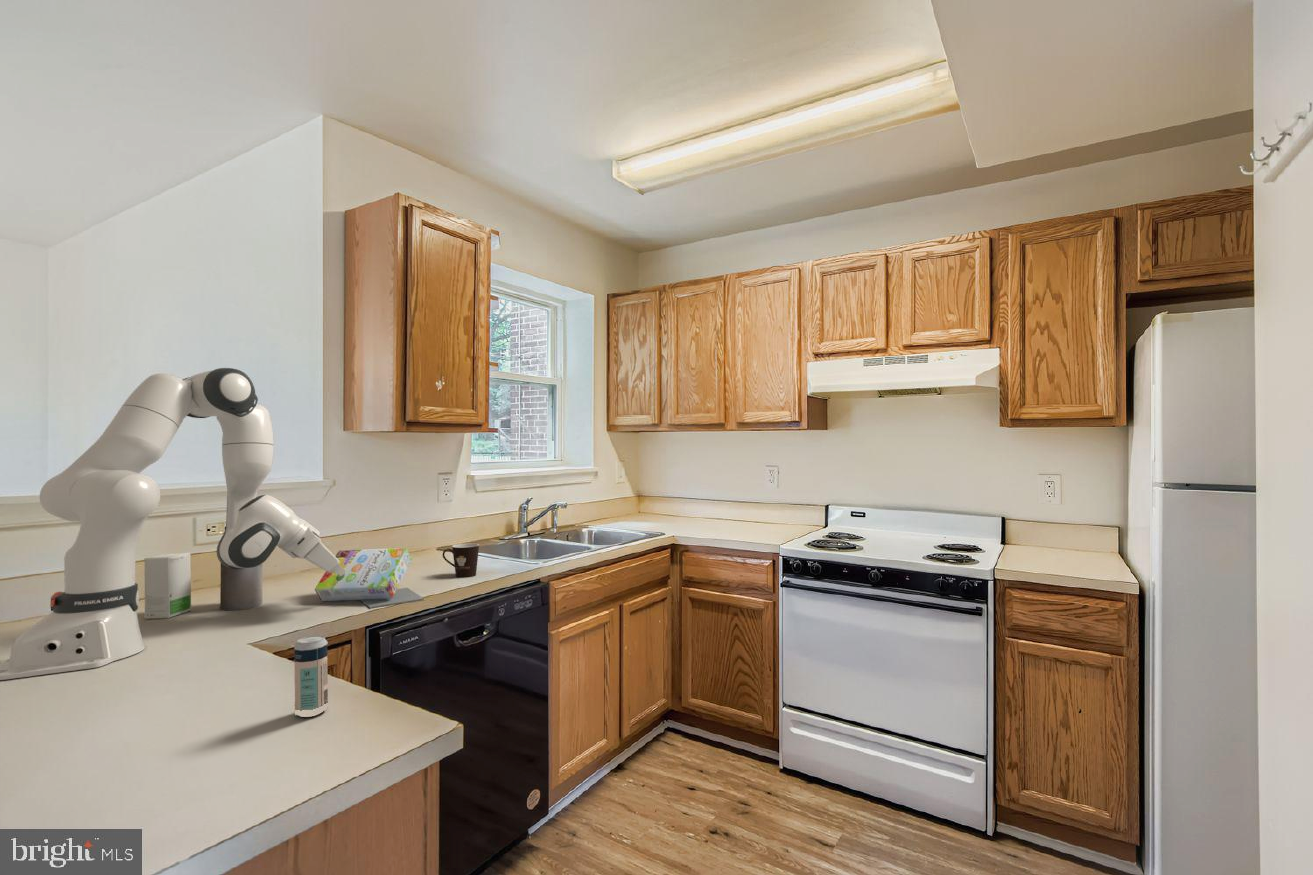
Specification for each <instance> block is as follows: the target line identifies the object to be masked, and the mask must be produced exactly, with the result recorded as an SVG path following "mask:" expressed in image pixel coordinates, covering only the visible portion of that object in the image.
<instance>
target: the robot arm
mask: <svg viewBox="0 0 1313 875" xmlns="http://www.w3.org/2000/svg"><path fill="white" fill-rule="evenodd" d="M258 401H259V397H258V396H257V394H256V389H255V385H254V384H253V381H252V379H251V378H250V377H249V375H248V374H246V373H245V372H244V371H242V370H240V369H237V368H232V367H231V368H230V367H220V368H215V369H213V370H208V371H202V372H198V373H196V374H194V375H193V374H192V375H191V376H187V377H185V378H180V377H177V376H176V375H172V374H168V373H155V374H151V375H149V376H148V377H146V378H145V379H144V380H143V381H142V382H141V383H140V384H139V385H138V386H137V387H136V388H135V389H134V391H132V393H131V394H130V395H129V396H128V397H127V398H126V400H125V401H124V403H123V404H122V405H121V407H120V408H119V409H118V411H117V413H116V414H115V416H114V417H113V419H112V420H111V422H110V423H109V424H108V426H107V427H106V429H105V430H104V431H103V433H102V434H101V435H100V437H99V438H98V439H97V440H96V441H95V442H94V443H93V444H92V445H91V446H90V447H89V448H88V449H87V450H85V452H83V453H82V454H81V455H80V456H79V457H78V458H77V459H76V460H75V461H74V462H72V463H71V464H70V465H69V466H68V467H67V468H65V469H64V470H63V471H62V472H60V473H59V474H57V475H55V476H53V477H51V478H50V479H48V480H47V481H46V482H45V483H44V484H43V486H42V487H41V490H40V491H39V502H40V505H41V507H42V508H43V509H44V511H46V512H47V513H48V514H50V515H52V516H54V517H56V518H60V519H62V520H65V521H69V522H78V523H79V522H80V527H79V531H78V533H77V536H76V539H75V541H74V543H73V545H72V546H71V547H70V548H69V549H68V550H67V551H66V552H65V555H64V559H63V561H64V564H63V565H64V567H63V568H64V591H56V592H54V593H53V594H52V595H51V596H50V604H49V605H50V606H49V607H50V611H51V613H49V614H48V615H46V616H45V617H43V618H42V619H40V620H39V621H38V622H35V624H33V625H32V626H30V627H29V628H28V629H26V630H25V631H24V632H22V633H20V635H19V636H18V637H17V638H16V639H15V640H14V642H13V644H12V647H11V651H10V655H9V659H7V660H5V661H3V662H1V663H0V681H5V680H12V679H20V678H27V677H35V676H43V675H50V674H56V673H59V674H60V673H65V672H66V673H67V672H73V671H74V672H75V671H80V670H87V669H88V670H89V669H95V668H99V667H103V666H105V665H107V664H110V663H112V662H115V661H119V660H122V659H125V658H128V657H130V656H131V657H132V656H134V655H135V654H138V653H140V652H143V651H144V650H145V649H146V647H147V646H146V644H145V641H144V640H143V635H142V634H141V633H142V632H141V630H140V624H139V623H140V622H139V618H138V611H137V610H138V609H139V604H140V602H139V601H140V598H139V597H140V596H139V595H140V592H139V591H140V590H139V584H138V583H136V552H137V544H138V541H139V537H140V534H141V532H142V529H143V527H144V524H145V522H146V520H147V519H148V517H149V516H150V515H152V513H153V512H154V511H155V510H156V509H157V507H158V506H159V504H160V501H161V490H160V488H159V485H158V483H157V482H156V481H155V480H154V479H153V478H151V477H150V476H147V475H145V474H142V472H143V471H144V470H145V469H147V468H148V467H149V466H151V465H153V464H154V463H156V462H157V461H159V459H161V458H162V456H163V454H165V452H166V450H167V448H169V445H170V444H171V441H172V440H173V439H174V437H175V435H176V433H177V432H178V430H179V428H180V427H181V426H182V423H183V421H184V419H186V417H190V418H194V419H207V418H210V417H215V418H216V420H217V421H218V423H219V424H220V428H221V432H222V436H221V439H222V440H221V457H222V458H221V459H222V466H223V471H224V478H225V484H226V492H227V494H226V499H227V500H226V521H225V522H226V523H225V530H224V531H223V534H222V536H221V538H220V540H219V542H218V544H217V547H216V557H217V559H218V562H220V564H221V563H222V564H223V565H224V566H225V567H227V568H230V569H235V570H240V569H245V568H252V567H256V566H259V565H261V564H262V565H263V563H265V562H266V561H267V560H268V559H269V558H270V556H271V555H272V553H273V552H274V550H275V549H276V547H278V548H279V549H280V550H282V551H283V552H284V553H286V554H287V555H289V556H290V557H292V559H296V558H298V559H301V560H302V559H305V560H306V561H308V562H310V563H311V564H313V565H315V566H316V567H318V568H320V569H321V570H323V571H325V572H326V571H327V572H329V573H330V572H332V571H335V572H336V573H338V574H339V575H340V576H342V575H343V574H344V573H345V572H346V570H344V569H343V568H342V567H341V566H340V565H339V564H340V561H339V560H338V559H337V558H336V557H335V556H336V555H334V554H333V552H331V550H330V549H329V548H328V547H326V546H325V545H324V544H323V542H322V539H321V537H320V534H321V532H320V531H319V530H318V529H317V528H315V527H314V526H313V525H312V524H310V523H309V522H308V521H307V520H305V519H304V518H300V517H299V516H298V515H297V514H296V513H295V512H294V510H293V509H291V508H290V507H289V506H288V505H286V504H285V503H284V502H282V501H280V500H279V499H277V498H276V497H274V496H272V495H270V494H262V495H259V496H258V492H259V490H260V487H261V485H262V483H263V482H264V481H265V479H266V478H267V477H268V475H269V474H270V472H271V471H272V466H273V460H274V452H275V448H274V447H275V446H274V445H275V442H274V430H273V423H272V419H271V415H270V411H268V409H267V408H266V407H265V406H263V405H262V404H258Z"/></svg>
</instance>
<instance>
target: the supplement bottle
mask: <svg viewBox="0 0 1313 875" xmlns="http://www.w3.org/2000/svg"><path fill="white" fill-rule="evenodd" d="M328 643H329V642H328V640H326V638H325V636H324V635H320V634H317V635H316V634H315V635H307V636H305V637H301V638H299V639H297V640H296V642H295V644H294V647H293V648H294V711H295V710H300V711H302V710H313V709H316V708H319V707H321V706H323V705H324V704H326V703H328V702H329V698H328V697H329V696H328V695H329V688H328V687H329V685H328V682H329V681H328V678H329V677H328V673H329V672H328V671H329V670H328ZM328 704H329V703H328Z"/></svg>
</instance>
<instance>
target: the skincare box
mask: <svg viewBox="0 0 1313 875" xmlns="http://www.w3.org/2000/svg"><path fill="white" fill-rule="evenodd" d="M143 561H144V619H146V620H148V619H149V620H150V619H153V620H154V619H158V620H159V619H170V618H172V617H175V616H178V615H182V614H185V613H187V612H188V613H189V612H190V611H192V582H191V581H192V579H191V577H192V574H191V572H192V571H191V570H192V569H191V568H192V567H191V566H192V565H191V552H180V553H166V554H160V555H154V556H149V557H144V559H143Z"/></svg>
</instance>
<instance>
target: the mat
mask: <svg viewBox="0 0 1313 875" xmlns="http://www.w3.org/2000/svg"><path fill="white" fill-rule="evenodd" d="M424 600H425V598H424V597H423V596H421V595H419V594H418V593H416V592H415V591H413V590H412V589H410V588H409V587H404V588H403V587H402V588H397V590H396V592H395V594H394V596H393V598H392V599H363V600H360V601H361V602H362V603H363V604H364V605H365V606H367V607H368V608H369V609H375V608H383V607H387V606H395V605H399V604H407V603H413V602H418V601H424Z"/></svg>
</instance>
